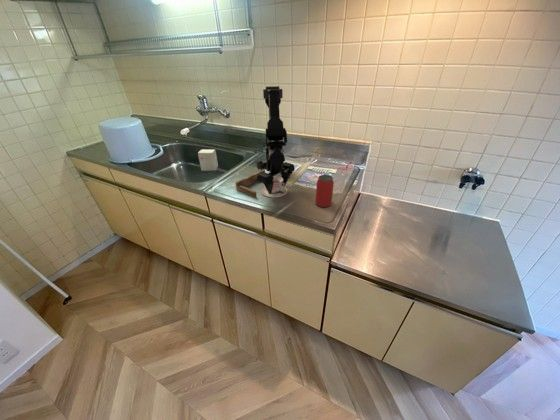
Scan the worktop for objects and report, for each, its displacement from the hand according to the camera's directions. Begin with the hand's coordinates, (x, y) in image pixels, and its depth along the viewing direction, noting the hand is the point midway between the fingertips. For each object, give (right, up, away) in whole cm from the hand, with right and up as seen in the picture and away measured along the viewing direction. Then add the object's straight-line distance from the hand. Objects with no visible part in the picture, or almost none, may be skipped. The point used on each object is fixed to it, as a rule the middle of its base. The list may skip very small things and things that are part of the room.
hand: (276, 190), depth 109 cm
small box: (-37, +13, +26) cm, 47 cm away
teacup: (-1, -1, +3) cm, 4 cm away
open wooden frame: (-8, +2, +7) cm, 11 cm away
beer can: (+20, -6, -7) cm, 22 cm away
